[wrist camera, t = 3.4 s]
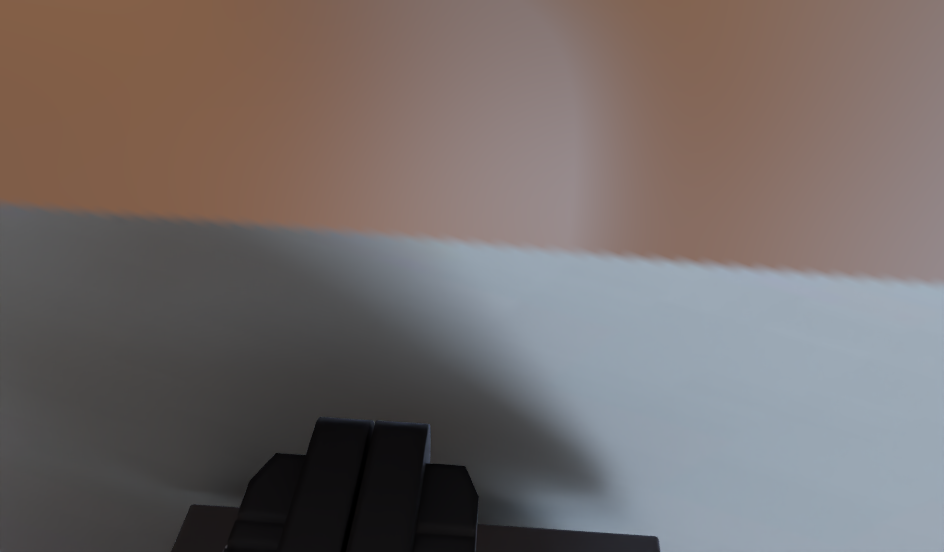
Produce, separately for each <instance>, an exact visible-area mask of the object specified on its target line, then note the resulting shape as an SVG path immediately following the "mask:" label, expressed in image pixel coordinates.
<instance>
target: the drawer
mask: <svg viewBox="0 0 944 552" xmlns="http://www.w3.org/2000/svg"><path fill="white" fill-rule="evenodd" d="M238 511H239V507H225V506H210V505H196V504H193V505H191V506H190V508H189V511H188V513H187V515H186V518H185V520H184V522H183V525H182V527H181V529H180V532H179V534H178V536H177V539H176V541H175V543H174V546H173V548H172V550H171V552H224V549H225V548H227V541H228V538H229V535H230V533H231V530H232V527H233V525H234V522H235V520H236V521H237V517H238ZM476 552H660V546H659V540H658V538H657V537H655V536H642V535H628V534H613V533H599V532H585V531H570V530H556V529H541V528H527V527H513V526H498V525H484V524H477V536H476Z"/></svg>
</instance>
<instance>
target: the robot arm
mask: <svg viewBox="0 0 944 552" xmlns="http://www.w3.org/2000/svg"><path fill="white" fill-rule="evenodd" d="M430 438H431V431H430V424H422V423H407V422H392V421H378V420H377V421H376V423H375V425H374V422H373V420H359V419H344V418H330V417H319V418H318V420H317V422H316V424H315V427H314V430H313V433H312V437H311V440H310V443H309V446H308V450H307V453H306V455H296V454H281V453H276V454H275V455H274V456H273V457H272V458H271V459H270V460H269V461H268V462H267V463H266V464H265V465H264V466H263V467H262V468H261V469H260V470H259V472H258V473H257V474H256V475H255V476H254V477H253V478H252V479H251V480H250V482H249V484H248V487H247V490H246V492H245V495H244V498H243V500H242V503H241V506H240V508H239V511H238V517H237V521H236V520H235V522H234V525H233V527H232V530H231V533H230V535H229V538H228V541H227V548H225V549H224V552H476V536H477V519H478V501H479V496H478V494H477V492H476V489H475V487H474V485H473V483H472V480H471V478H470V476H469V474H468V471H467V469H466V467H465V466H458V465H444V464H430Z"/></svg>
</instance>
